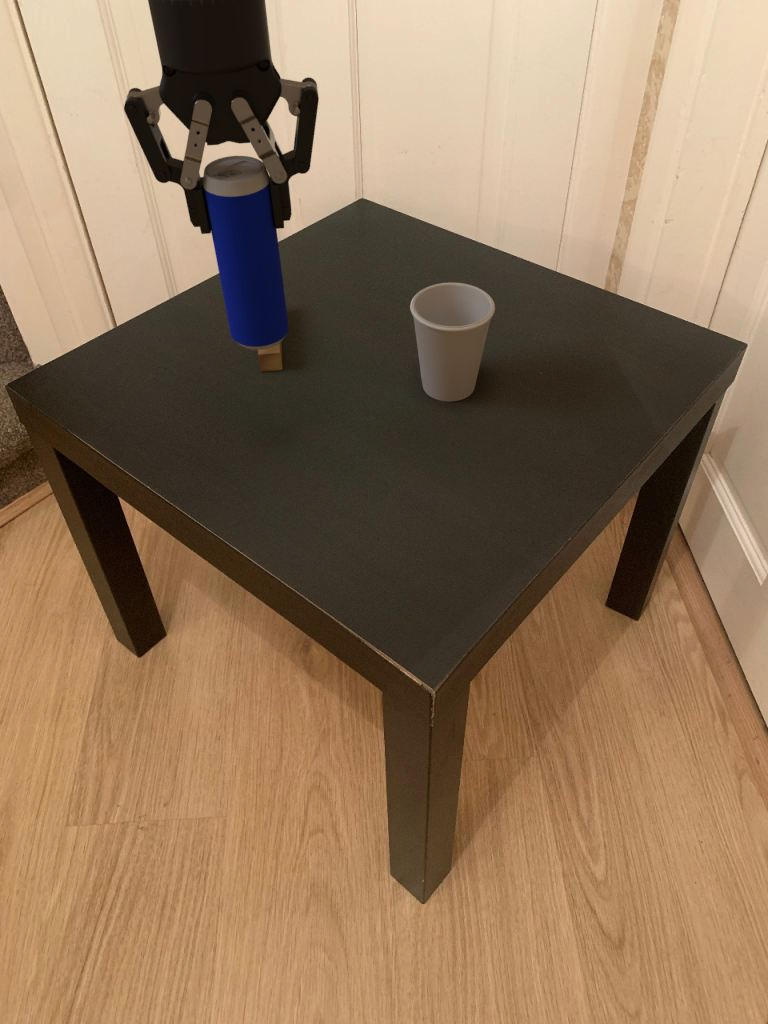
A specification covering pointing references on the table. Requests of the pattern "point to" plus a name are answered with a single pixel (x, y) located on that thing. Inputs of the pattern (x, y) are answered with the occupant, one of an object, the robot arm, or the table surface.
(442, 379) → the dixie cup
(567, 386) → the table surface
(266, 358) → the stick
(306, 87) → the robot arm
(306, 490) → the table surface
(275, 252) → the beverage can
